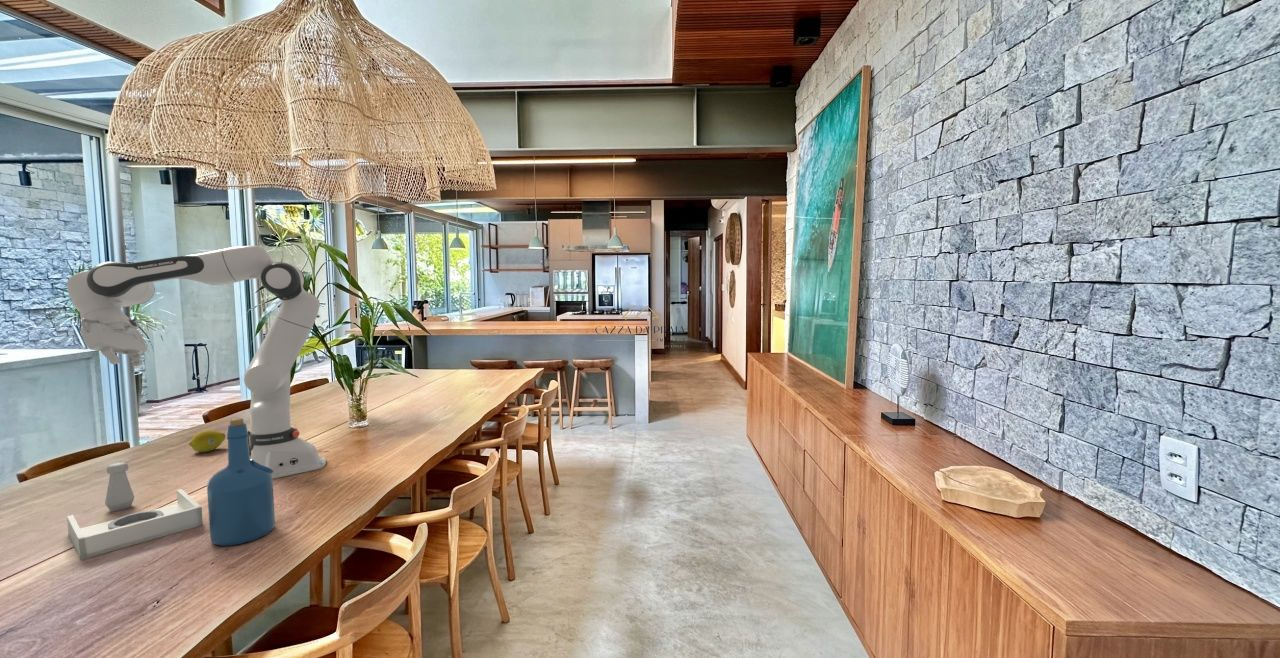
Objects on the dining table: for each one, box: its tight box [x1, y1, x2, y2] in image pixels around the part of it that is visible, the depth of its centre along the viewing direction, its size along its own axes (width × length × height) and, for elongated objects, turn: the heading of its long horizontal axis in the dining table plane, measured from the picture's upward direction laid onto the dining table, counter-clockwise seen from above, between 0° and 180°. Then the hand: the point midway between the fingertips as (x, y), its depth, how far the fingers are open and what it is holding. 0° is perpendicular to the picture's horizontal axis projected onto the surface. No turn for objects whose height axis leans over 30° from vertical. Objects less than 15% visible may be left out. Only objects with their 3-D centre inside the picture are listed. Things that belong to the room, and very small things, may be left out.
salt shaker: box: [104, 461, 135, 512], centre depth 145 cm, size 6×6×13 cm
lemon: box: [188, 429, 226, 453], centre depth 196 cm, size 11×8×8 cm
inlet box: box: [66, 488, 204, 561], centre depth 132 cm, size 20×22×5 cm
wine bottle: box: [206, 417, 276, 547], centre depth 129 cm, size 14×13×30 cm
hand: (127, 364), depth 152 cm, fingers open, 8 cm apart
